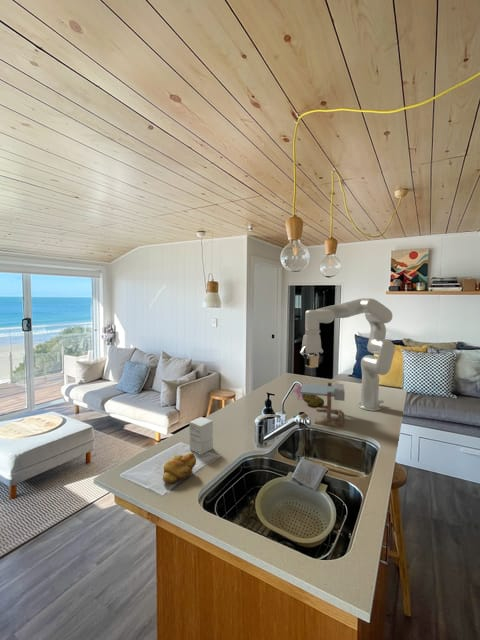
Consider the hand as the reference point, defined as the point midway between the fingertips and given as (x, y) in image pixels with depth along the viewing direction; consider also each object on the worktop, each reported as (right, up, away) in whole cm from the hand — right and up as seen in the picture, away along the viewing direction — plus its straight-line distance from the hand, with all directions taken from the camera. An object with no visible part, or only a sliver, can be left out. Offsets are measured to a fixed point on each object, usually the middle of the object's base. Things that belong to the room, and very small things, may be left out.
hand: (311, 364), depth 171 cm
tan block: (0, -1, 0) cm, 1 cm away
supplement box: (-57, -32, -37) cm, 75 cm away
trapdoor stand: (+9, -29, -1) cm, 31 cm away
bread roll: (-63, -33, -57) cm, 91 cm away
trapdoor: (+6, -16, -1) cm, 17 cm away
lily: (+1, -27, +32) cm, 42 cm away
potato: (+5, -28, +19) cm, 34 cm away
